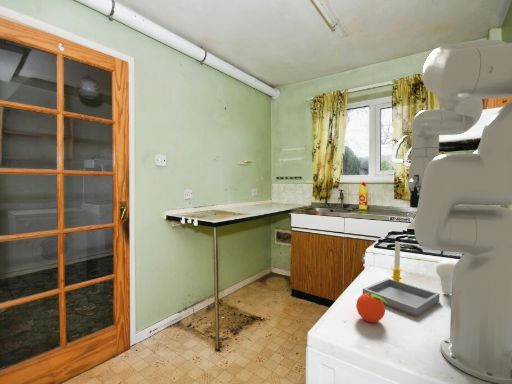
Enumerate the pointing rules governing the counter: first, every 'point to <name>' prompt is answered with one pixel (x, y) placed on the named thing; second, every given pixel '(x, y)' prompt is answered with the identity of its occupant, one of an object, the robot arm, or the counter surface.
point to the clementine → (371, 307)
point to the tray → (404, 296)
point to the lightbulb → (445, 275)
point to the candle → (397, 263)
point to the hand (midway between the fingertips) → (422, 206)
